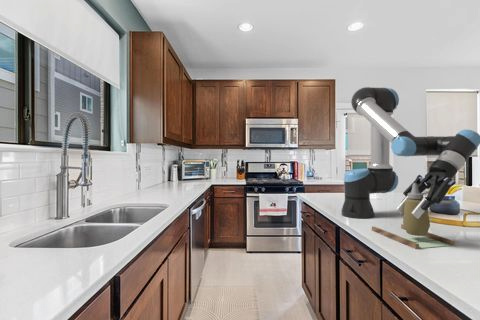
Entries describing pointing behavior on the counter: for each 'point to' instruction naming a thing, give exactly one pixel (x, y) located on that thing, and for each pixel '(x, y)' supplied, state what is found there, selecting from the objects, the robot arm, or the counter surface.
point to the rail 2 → (437, 238)
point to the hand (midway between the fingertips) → (406, 213)
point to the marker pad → (426, 242)
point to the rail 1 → (396, 237)
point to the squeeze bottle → (409, 220)
